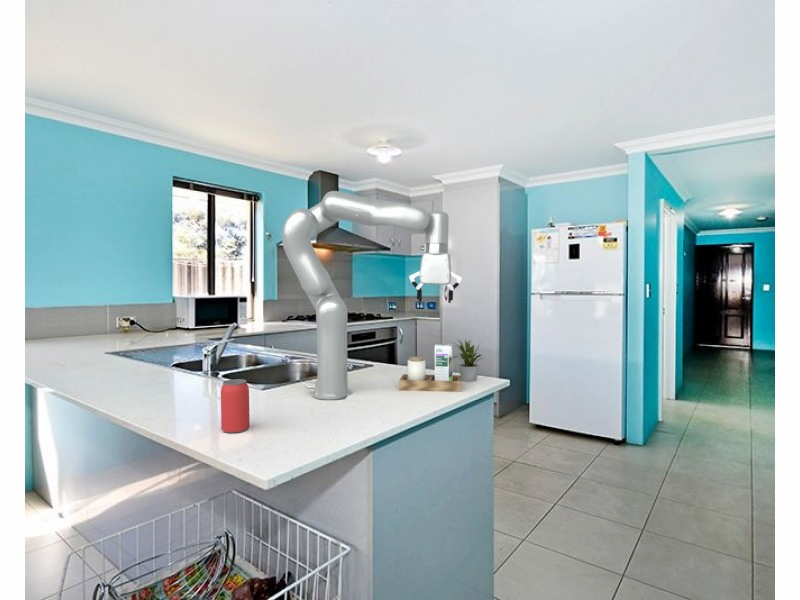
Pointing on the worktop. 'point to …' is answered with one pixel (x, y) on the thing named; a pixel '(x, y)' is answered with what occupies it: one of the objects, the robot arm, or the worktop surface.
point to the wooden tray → (430, 384)
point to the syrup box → (444, 362)
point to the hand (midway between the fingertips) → (434, 302)
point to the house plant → (468, 362)
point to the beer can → (235, 406)
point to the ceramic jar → (416, 368)
